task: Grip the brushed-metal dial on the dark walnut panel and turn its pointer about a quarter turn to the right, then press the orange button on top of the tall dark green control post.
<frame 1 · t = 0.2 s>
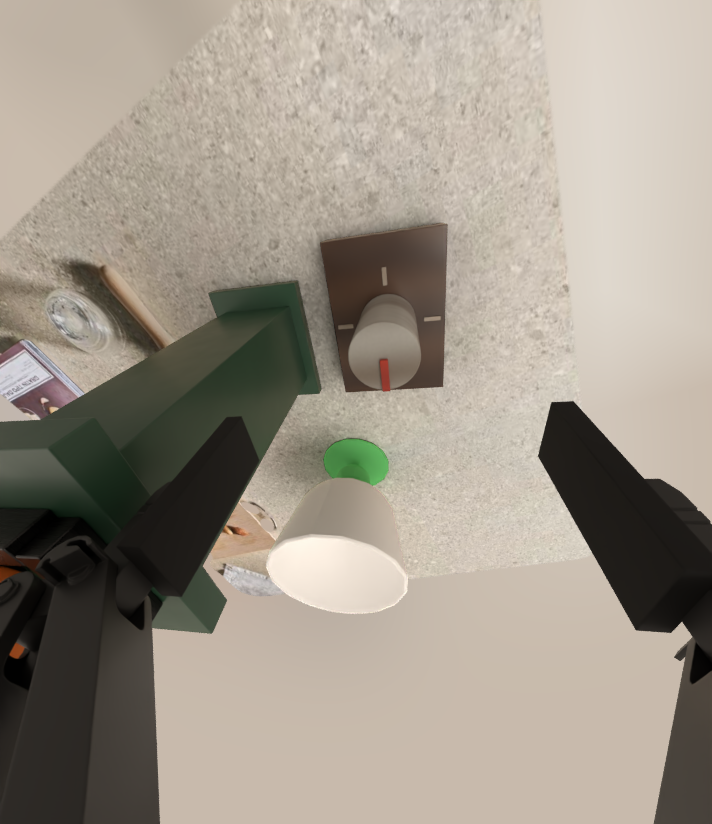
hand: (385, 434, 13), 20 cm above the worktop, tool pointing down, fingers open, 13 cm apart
dial: (386, 338, 24), point 7 cm above the worktop, hinge at 0.0°
control post: (271, 343, 33), on the worktop
cup: (356, 462, 42), on the worktop
dial panel: (389, 313, 30), on the worktop
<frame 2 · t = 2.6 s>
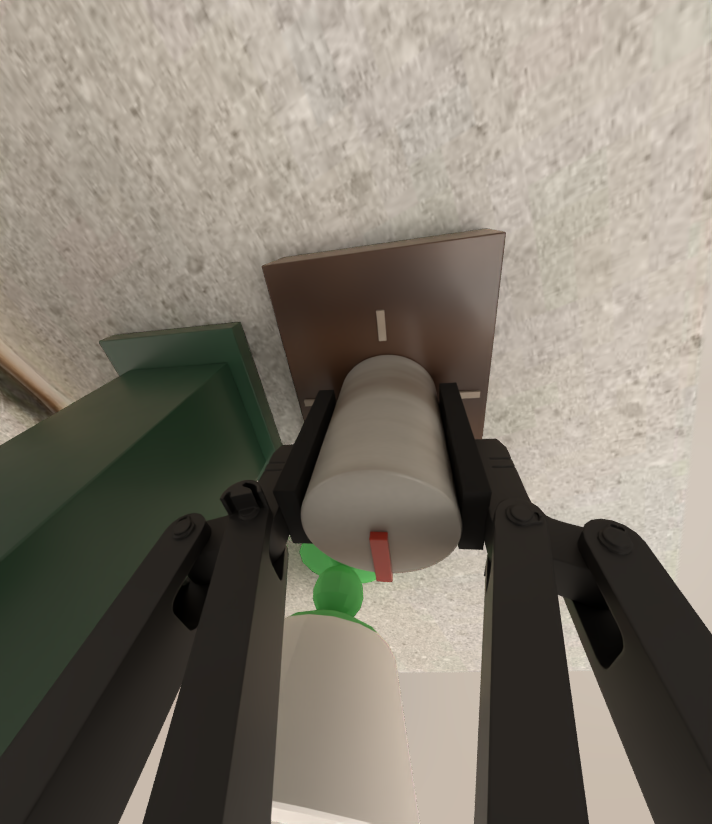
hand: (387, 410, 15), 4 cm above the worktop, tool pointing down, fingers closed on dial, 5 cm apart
dial: (384, 449, 13), point 7 cm above the worktop, hinge at -0.1°, touching gripper
control post: (211, 409, 22), on the worktop
cup: (344, 555, 30), on the worktop
dial panel: (389, 373, 18), on the worktop
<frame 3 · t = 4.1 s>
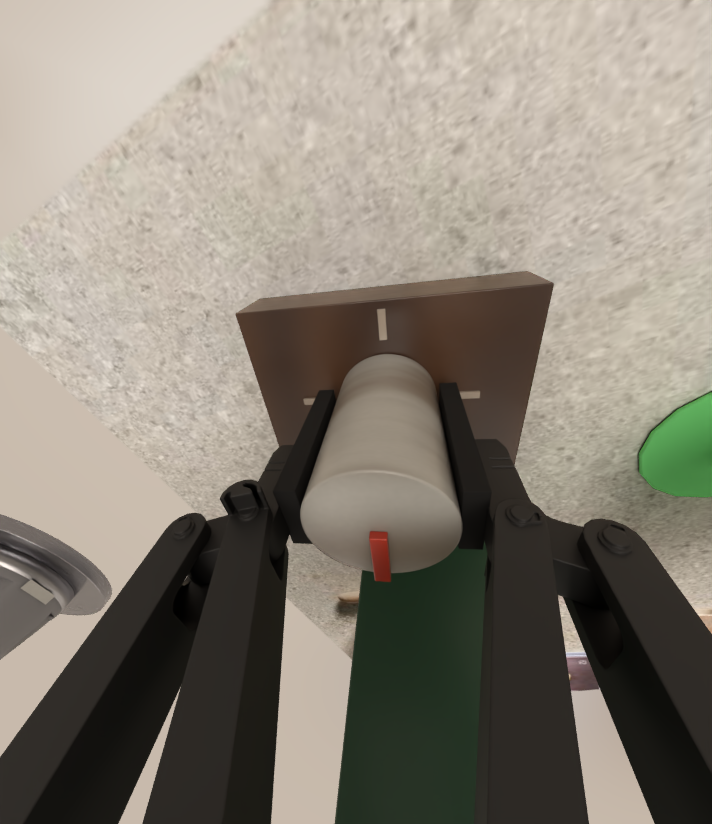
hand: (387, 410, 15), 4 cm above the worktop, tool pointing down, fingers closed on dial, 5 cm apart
dial: (384, 448, 12), point 7 cm above the worktop, hinge at -90.6°, touching gripper
control post: (423, 512, 25), on the worktop
dial panel: (389, 372, 18), on the worktop
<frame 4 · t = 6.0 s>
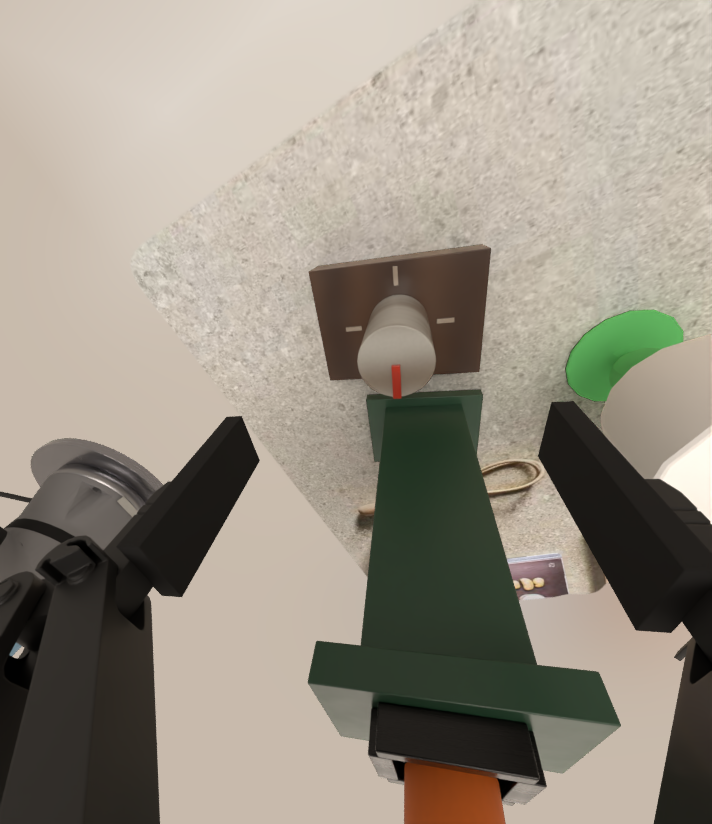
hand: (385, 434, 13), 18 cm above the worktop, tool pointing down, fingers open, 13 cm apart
dial: (397, 342, 22), point 7 cm above the worktop, hinge at -90.9°
control post: (422, 425, 35), on the worktop
button: (452, 809, 13), point 27 cm above the worktop, slide at 0.1 cm
cup: (619, 358, 28), on the worktop
dial panel: (399, 314, 28), on the worktop
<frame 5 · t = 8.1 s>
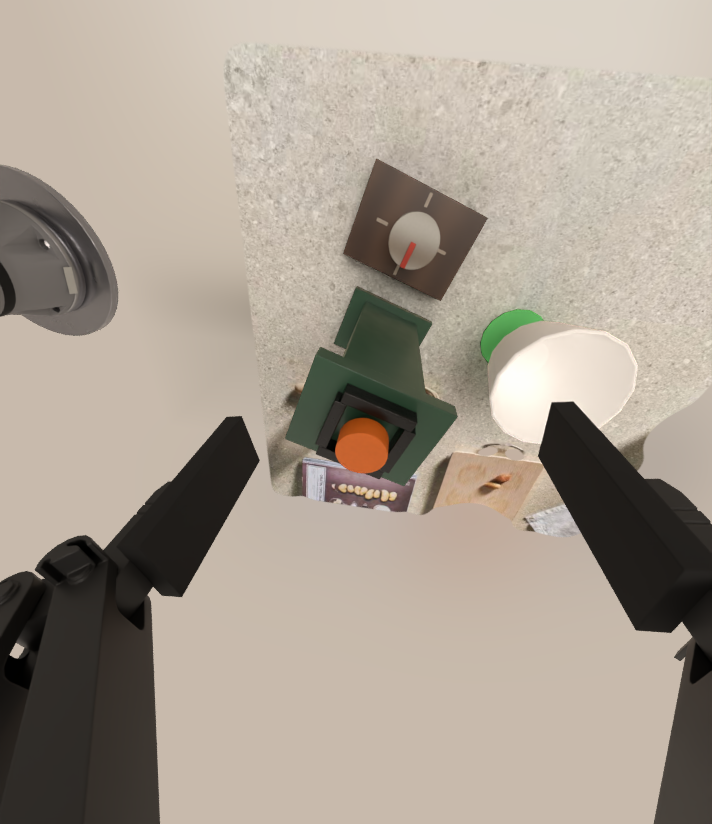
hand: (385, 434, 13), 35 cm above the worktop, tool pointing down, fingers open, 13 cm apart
dial: (412, 239, 33), point 7 cm above the worktop, hinge at -90.9°
control post: (381, 331, 46), on the worktop
button: (362, 445, 24), point 27 cm above the worktop, slide at 0.1 cm
cup: (512, 339, 44), on the worktop
dial panel: (411, 235, 39), on the worktop
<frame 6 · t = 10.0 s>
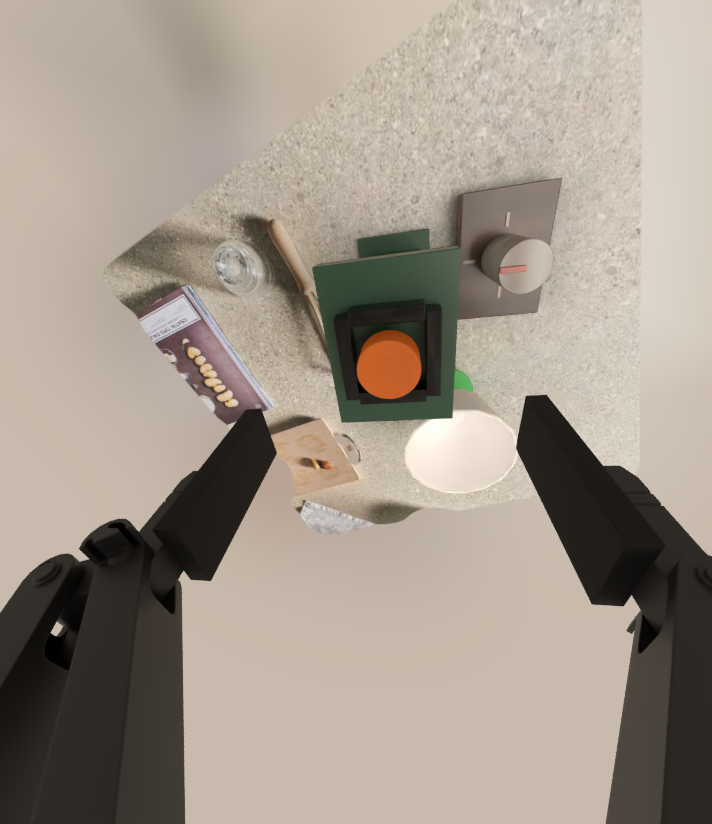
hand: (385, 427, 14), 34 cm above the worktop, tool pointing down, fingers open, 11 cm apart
dial: (513, 262, 33), point 7 cm above the worktop, hinge at -90.9°
control post: (395, 283, 42), on the worktop
button: (389, 364, 20), point 27 cm above the worktop, slide at 0.1 cm
cup: (444, 392, 51), on the worktop
dial panel: (496, 254, 39), on the worktop
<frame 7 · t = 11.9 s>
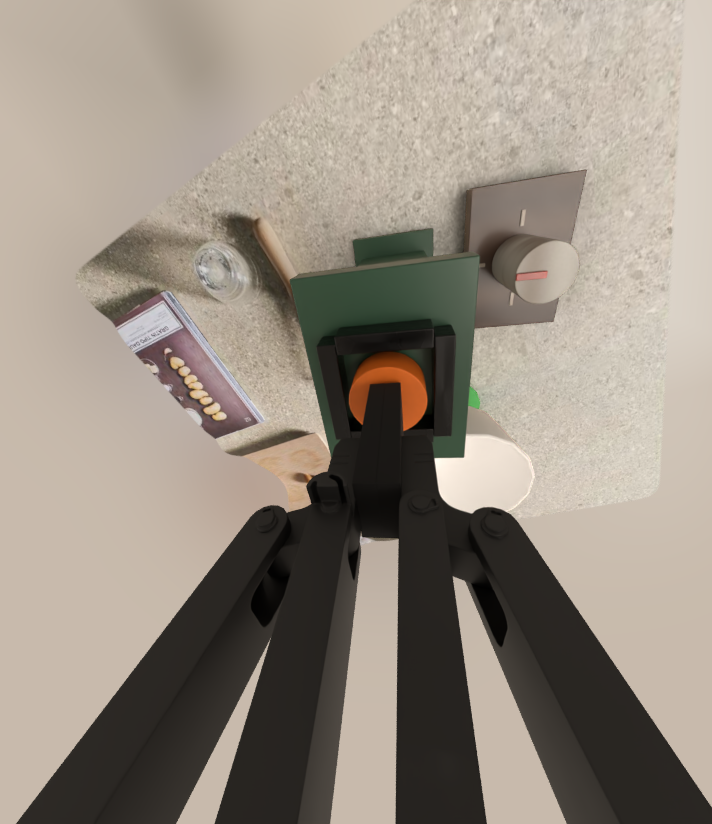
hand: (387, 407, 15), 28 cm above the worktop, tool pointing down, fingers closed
dial: (530, 267, 29), point 7 cm above the worktop, hinge at -90.9°
control post: (395, 288, 38), on the worktop
button: (388, 393, 16), point 26 cm above the worktop, slide at -0.8 cm, touching gripper
cup: (448, 405, 47), on the worktop
dial panel: (508, 257, 35), on the worktop
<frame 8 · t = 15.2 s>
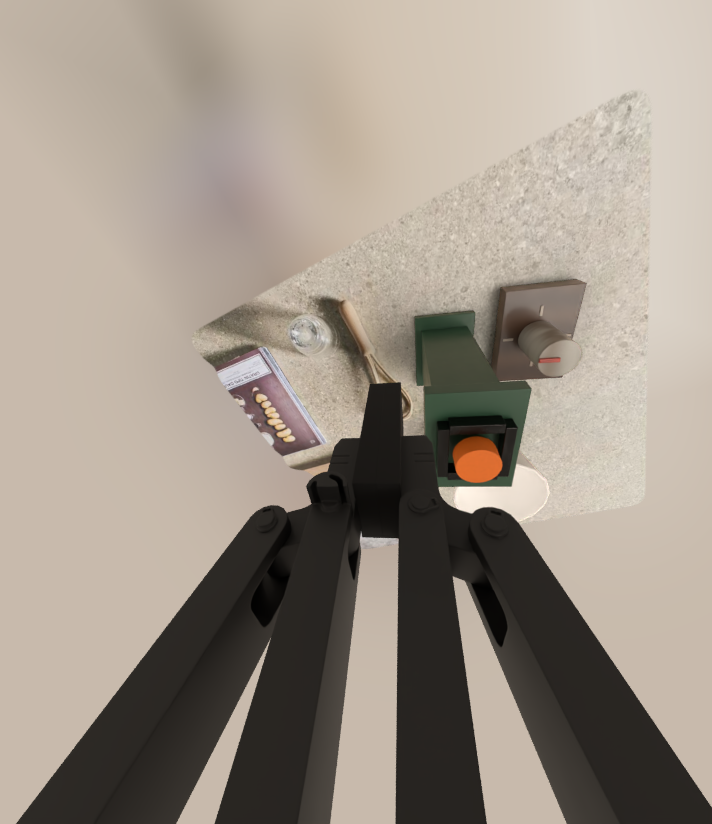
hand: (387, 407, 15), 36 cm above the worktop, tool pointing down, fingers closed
dial: (547, 347, 41), point 7 cm above the worktop, hinge at -90.9°
control post: (442, 349, 51), on the worktop
button: (476, 459, 28), point 27 cm above the worktop, slide at 0.1 cm
cup: (477, 433, 59), on the worktop
dial panel: (529, 330, 47), on the worktop
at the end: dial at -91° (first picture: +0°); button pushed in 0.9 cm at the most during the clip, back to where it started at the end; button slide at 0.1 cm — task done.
